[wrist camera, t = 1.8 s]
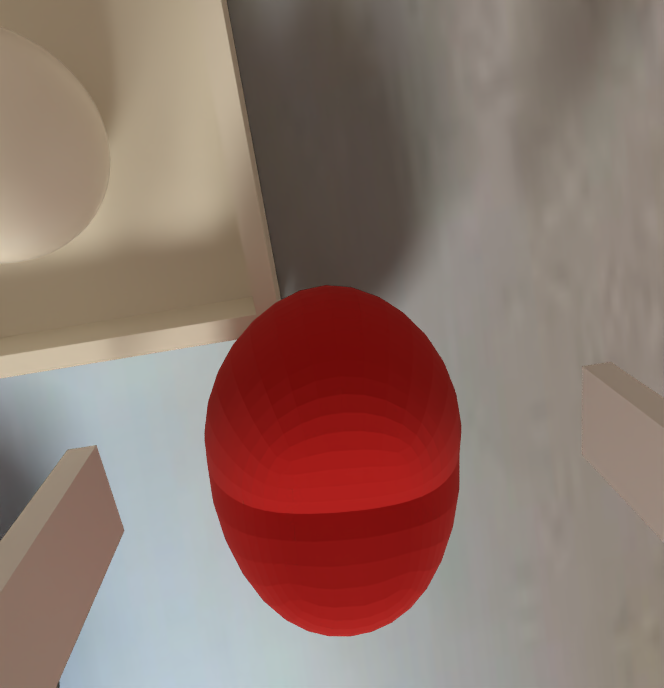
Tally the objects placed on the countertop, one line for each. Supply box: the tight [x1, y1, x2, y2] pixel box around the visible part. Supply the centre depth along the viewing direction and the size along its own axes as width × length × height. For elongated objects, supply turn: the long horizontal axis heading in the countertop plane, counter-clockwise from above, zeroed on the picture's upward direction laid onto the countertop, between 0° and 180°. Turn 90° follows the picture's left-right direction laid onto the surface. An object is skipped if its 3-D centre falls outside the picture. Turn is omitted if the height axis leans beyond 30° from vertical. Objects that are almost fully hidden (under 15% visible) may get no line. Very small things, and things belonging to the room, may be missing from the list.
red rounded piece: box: [205, 285, 461, 636], centre depth 17 cm, size 9×7×10 cm
